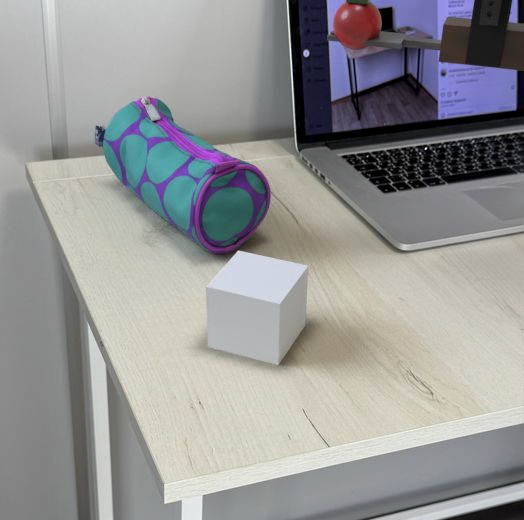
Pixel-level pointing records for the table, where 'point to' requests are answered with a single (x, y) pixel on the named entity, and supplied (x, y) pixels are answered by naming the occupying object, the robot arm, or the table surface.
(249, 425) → the table surface
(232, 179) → the pencil case
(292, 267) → the white cube
